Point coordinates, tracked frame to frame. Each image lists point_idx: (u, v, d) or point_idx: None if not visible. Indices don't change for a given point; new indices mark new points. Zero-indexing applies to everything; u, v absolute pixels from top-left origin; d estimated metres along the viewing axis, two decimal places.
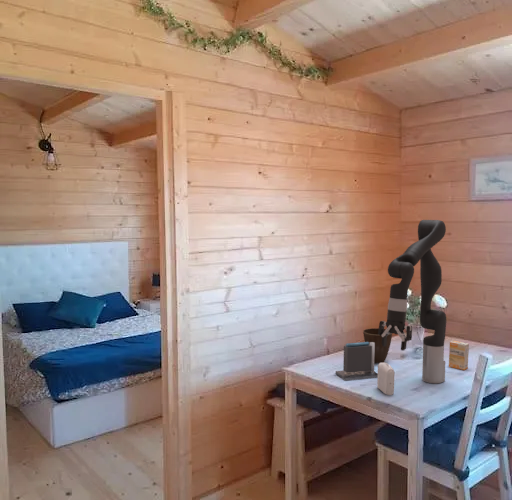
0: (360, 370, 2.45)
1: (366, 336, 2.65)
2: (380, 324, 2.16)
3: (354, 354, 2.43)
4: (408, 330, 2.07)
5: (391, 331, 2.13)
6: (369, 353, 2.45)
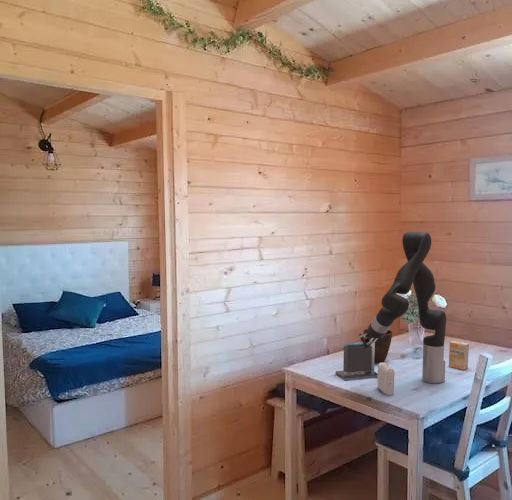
0: (360, 370, 2.45)
1: None
2: (362, 340, 2.22)
3: (354, 354, 2.43)
4: (382, 338, 2.25)
5: (374, 338, 2.23)
6: (369, 353, 2.45)
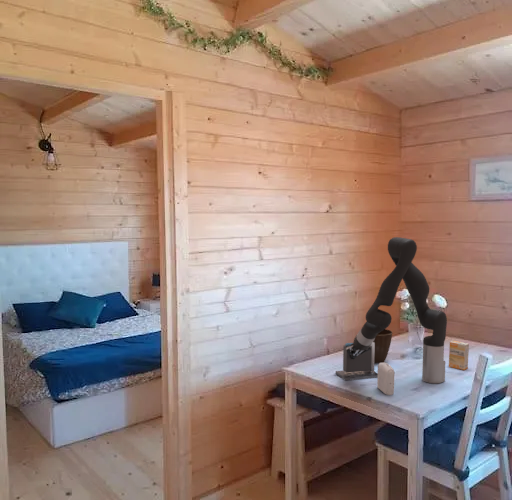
0: (360, 370, 2.45)
1: None
2: (348, 351, 2.35)
3: None
4: (368, 350, 2.38)
5: (359, 349, 2.36)
6: (369, 353, 2.45)
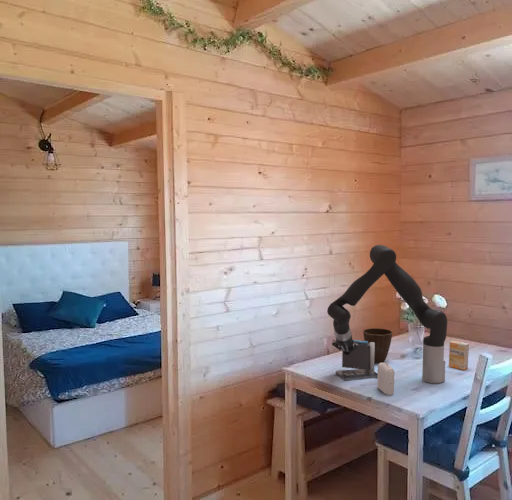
0: (356, 367, 2.49)
1: (366, 336, 2.65)
2: (334, 345, 2.45)
3: None
4: (355, 348, 2.42)
5: (345, 345, 2.43)
6: (366, 352, 2.47)
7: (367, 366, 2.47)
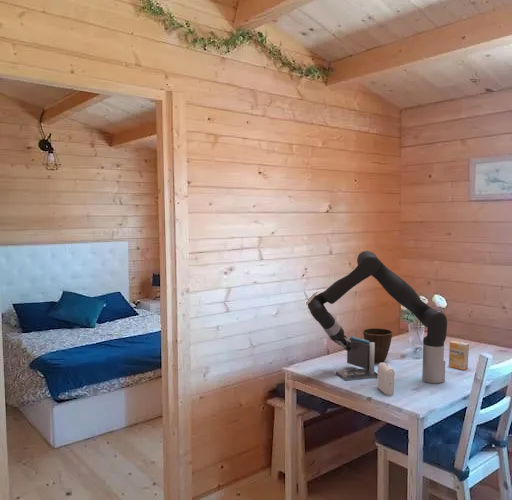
0: (357, 365, 2.53)
1: (366, 336, 2.65)
2: None
3: (352, 347, 2.55)
4: (348, 344, 2.46)
5: None
6: (365, 351, 2.48)
7: (366, 365, 2.48)
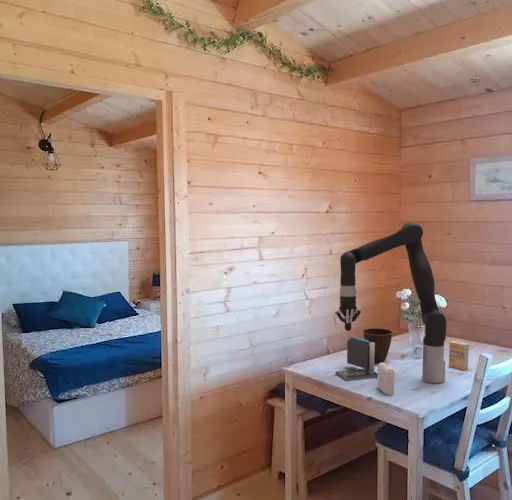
0: (357, 365, 2.53)
1: (366, 336, 2.65)
2: (339, 315, 2.40)
3: (352, 347, 2.55)
4: (358, 314, 2.43)
5: (349, 312, 2.41)
6: (365, 351, 2.48)
7: (366, 365, 2.48)
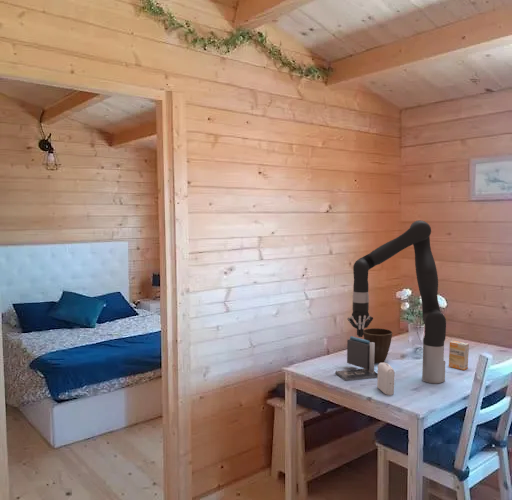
0: (357, 365, 2.53)
1: (366, 336, 2.65)
2: (351, 321, 2.42)
3: (352, 347, 2.55)
4: (370, 320, 2.45)
5: (362, 319, 2.44)
6: (365, 351, 2.48)
7: (366, 365, 2.48)
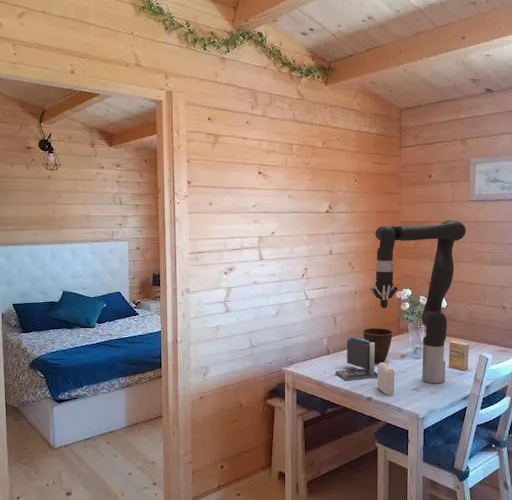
0: (357, 365, 2.53)
1: (366, 336, 2.65)
2: (375, 291, 2.31)
3: (352, 347, 2.55)
4: (395, 291, 2.34)
5: (386, 289, 2.32)
6: (365, 351, 2.48)
7: (366, 365, 2.48)
